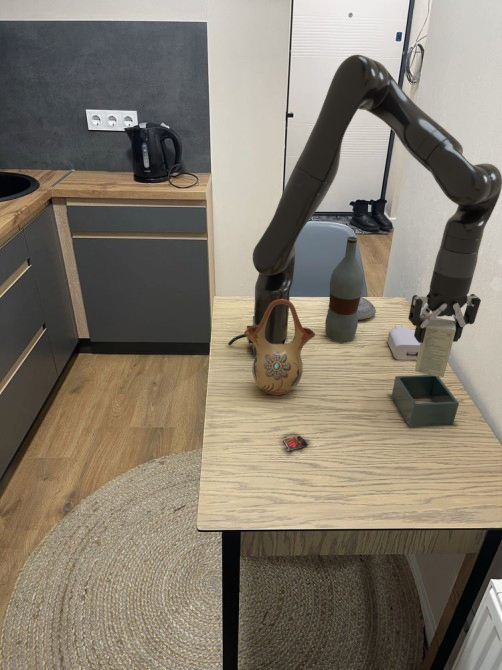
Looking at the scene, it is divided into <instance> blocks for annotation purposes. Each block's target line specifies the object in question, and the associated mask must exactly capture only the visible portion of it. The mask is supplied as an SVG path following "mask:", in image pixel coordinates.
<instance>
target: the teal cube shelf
mask: <svg viewBox="0 0 502 670" xmlns="http://www.w3.org/2000/svg"><path fill="white" fill-rule="evenodd" d="M423 397H430V398H431V399H432V400H433V402H418V403H416V402H415V400H414V398H423ZM391 398H392V400H393V402H394V404H395V405H396V407H397V408H398V410H399V412H400V413H401V415H402V417H403V418H404V421H405V422H406V424H407V425H408V427H410V428H411V427H428V426H429V427H430V426H446V425H454V423H455V419H456V416H457V412H458V409H459V405H460V402H459V401H458V399H456V397H455V396H454V395H453V393H452V392H451V390H450V389H449V388H448V387H447V386H446V383H444V381H443V380H442V379H441V377H438V376H433V375H428V374H417V375H416V374H414V375H395V377H394V382H393V386H392V392H391Z"/></svg>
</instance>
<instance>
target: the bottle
mask: <svg viewBox="0 0 502 670" xmlns="http://www.w3.org/2000/svg"><path fill="white" fill-rule="evenodd" d="M357 243H358V238H357V237H356V236H348V237H347V238H346V247H345V253H344V257H343V258H342V259H341V260H340V262H339V263H338V264H337V265H336V266H335V268H334V269H333V270H332V273H331V276H330V280H329V301H328V302H329V304H328V310H327V313H326V317H325V322H324V326H325V328H324V329H325V331H324V332H325V335H326V338H327V339H328V340H330V341H332V342H336V343H340V344H341V343H343V344H344V343H349V342H351V341H353V339H354V337H355V335H356V333H357V329H358V323H359V322H358V321H359V320H358V316H357V310H358V306H359V302H360V297H362V294H363V289H364V274H363V271H362V269H361V267H360V265H359V262H358V260H357V258H356V254H357V253H356V252H357Z"/></svg>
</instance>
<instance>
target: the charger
mask: <svg viewBox="0 0 502 670" xmlns="http://www.w3.org/2000/svg"><path fill="white" fill-rule="evenodd" d="M414 333H415V329H410V328H408V327H407V326H403V325H400V326H397V325H395V326H394V327H392V328H391V329H390V330H389V331H388V335H387V339H386V343H387V344H388V347H389V348H390V351H391V353H392V356H393V357H394V359H396V360H401V361H417V356H418V352H419V348H420V343H419V342H418V341H417V340H416V338H415V337H414Z"/></svg>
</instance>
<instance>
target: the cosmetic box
mask: <svg viewBox="0 0 502 670" xmlns="http://www.w3.org/2000/svg"><path fill="white" fill-rule="evenodd" d="M425 328H426V331H425V336H424V340H423V343H420V348H419V352H418V356H417V360H415V369H414V372H415V373H419V374H421V375H433V376H438V377H439V378H444V377H445V374H446V370H447V367H448V362H449V358H450V354H451V350H452V346H453V343H454V342H453V339H454V335H455V331H456V322H455V320H453V319H448V318H447V319H445V318H441V317H436V318H435V319H434V320H433V321H430V322H429V324H428V325H427V326H426V327H425Z"/></svg>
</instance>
